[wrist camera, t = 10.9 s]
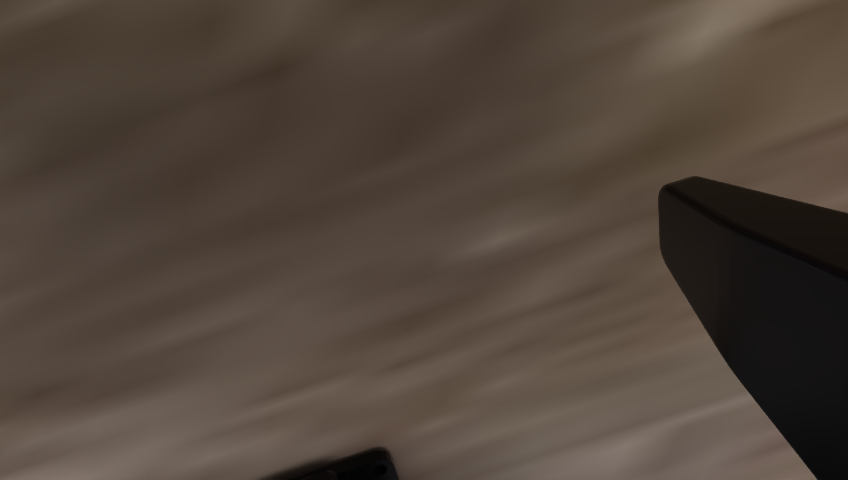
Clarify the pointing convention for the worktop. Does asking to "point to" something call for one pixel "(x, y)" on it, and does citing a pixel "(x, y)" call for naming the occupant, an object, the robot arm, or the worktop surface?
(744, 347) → the robot arm
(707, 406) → the worktop surface
